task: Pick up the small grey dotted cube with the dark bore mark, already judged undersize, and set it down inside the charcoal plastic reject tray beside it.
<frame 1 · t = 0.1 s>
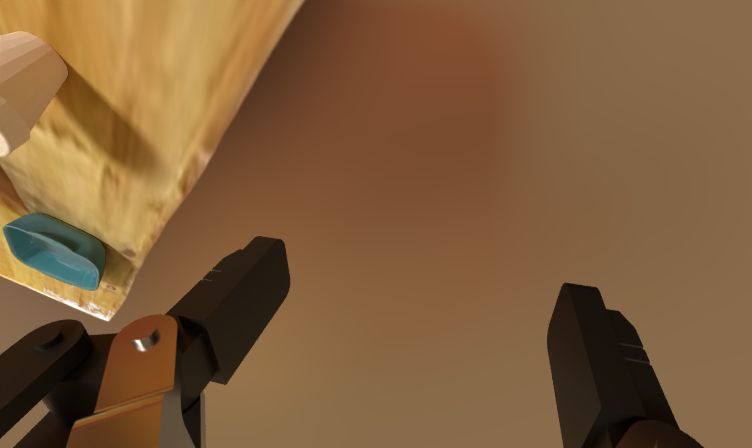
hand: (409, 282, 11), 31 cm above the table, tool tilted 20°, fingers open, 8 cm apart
casserole dish: (73, 241, 103), on the table
cup: (42, 55, 51), on the table
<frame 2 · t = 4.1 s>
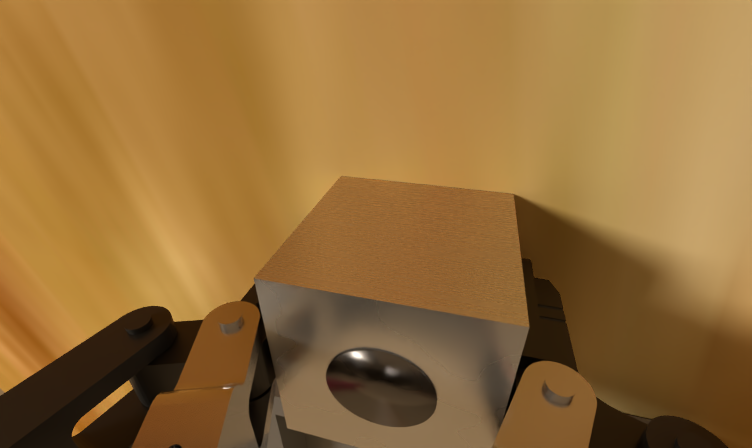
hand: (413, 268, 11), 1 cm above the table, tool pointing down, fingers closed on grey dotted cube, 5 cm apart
grey dotted cube: (418, 255, 12), on the table, touching gripper
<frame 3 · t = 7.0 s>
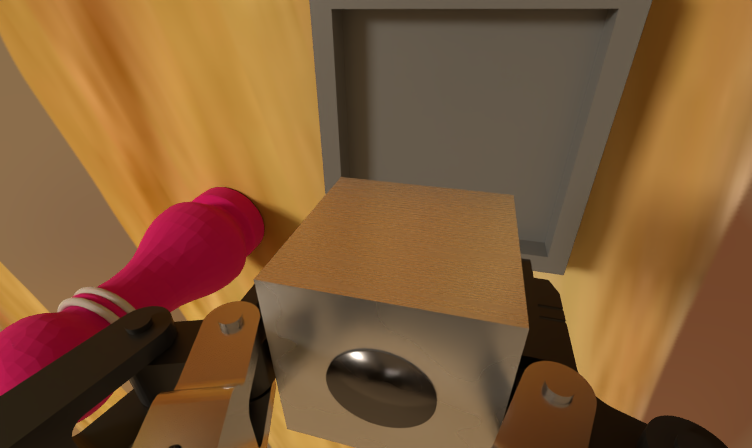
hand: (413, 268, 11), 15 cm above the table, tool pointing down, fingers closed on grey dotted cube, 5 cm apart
pepper mill: (233, 218, 32), on the table
reject tray: (453, 131, 24), on the table
grey dotted cube: (418, 255, 12), point 14 cm above the table, touching gripper
when the fingers open (3 cm above the table, at t = 9.8 s): grey dotted cube drops 2 cm, resting on reject tray.
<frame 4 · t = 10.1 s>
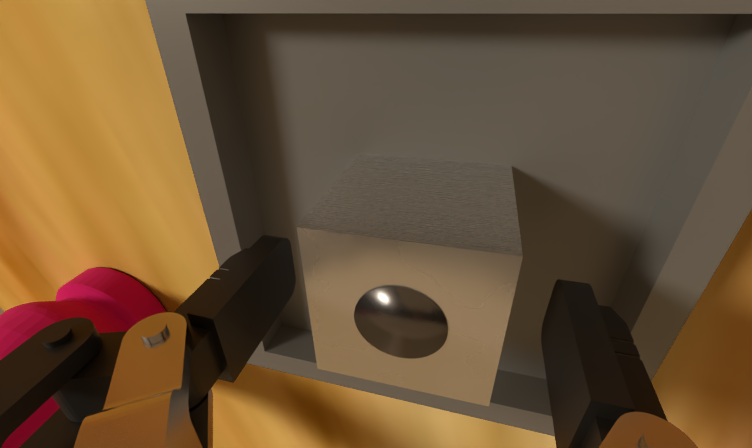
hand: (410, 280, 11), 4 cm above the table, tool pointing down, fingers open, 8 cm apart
pepper mill: (129, 304, 23), on the table
reject tray: (428, 215, 14), on the table
grey dotted cube: (427, 224, 14), point 1 cm above the table, touching reject tray
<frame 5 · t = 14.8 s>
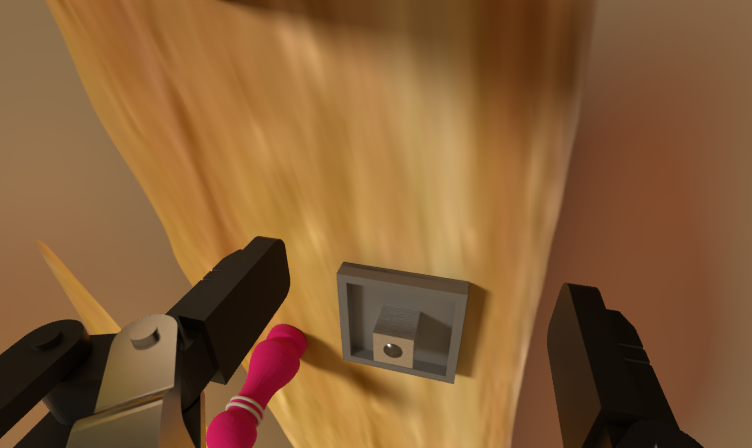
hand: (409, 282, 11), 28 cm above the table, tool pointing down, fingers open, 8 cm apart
pepper mill: (289, 337, 59), on the table
reject tray: (401, 317, 51), on the table
grey dotted cube: (401, 321, 50), point 1 cm above the table, touching reject tray
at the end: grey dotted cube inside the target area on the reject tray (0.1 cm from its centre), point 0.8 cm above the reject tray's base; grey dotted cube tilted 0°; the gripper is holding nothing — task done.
